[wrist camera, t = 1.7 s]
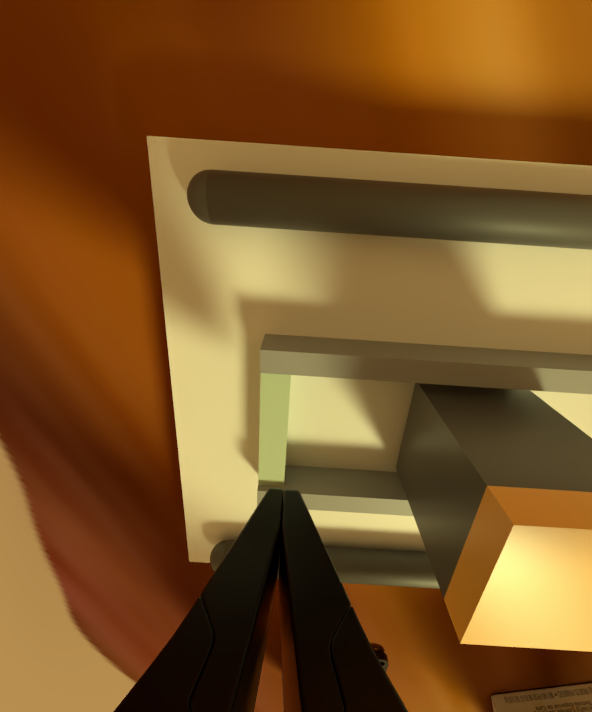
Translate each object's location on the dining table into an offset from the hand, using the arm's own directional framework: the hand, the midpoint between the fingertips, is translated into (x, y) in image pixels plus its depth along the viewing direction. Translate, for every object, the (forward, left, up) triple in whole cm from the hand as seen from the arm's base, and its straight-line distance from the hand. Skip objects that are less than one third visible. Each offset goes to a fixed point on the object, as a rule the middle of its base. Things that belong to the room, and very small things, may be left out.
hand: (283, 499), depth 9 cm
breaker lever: (0, -7, -4) cm, 8 cm away
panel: (0, -6, -6) cm, 9 cm away
